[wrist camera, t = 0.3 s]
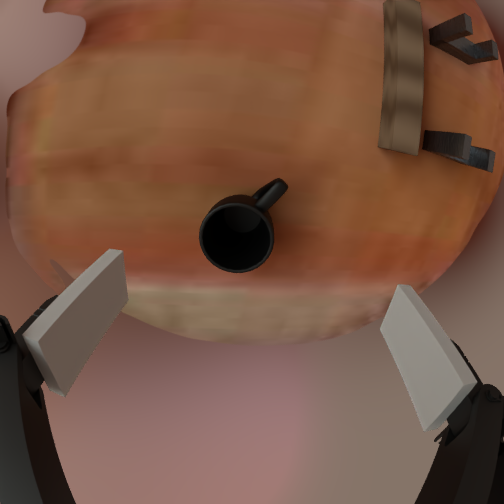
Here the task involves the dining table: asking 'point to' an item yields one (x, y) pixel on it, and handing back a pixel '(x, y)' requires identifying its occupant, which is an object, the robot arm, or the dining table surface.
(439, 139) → the bracket
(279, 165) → the dining table surface
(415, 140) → the rail
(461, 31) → the bracket
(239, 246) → the mug
